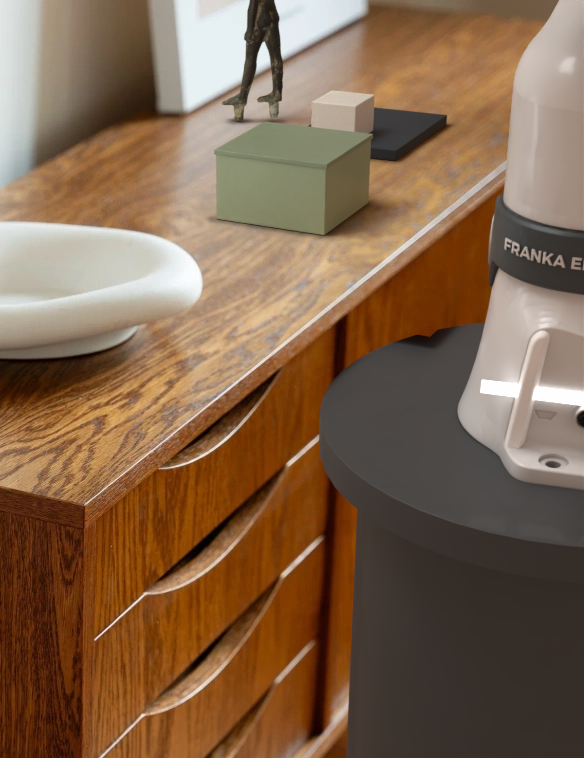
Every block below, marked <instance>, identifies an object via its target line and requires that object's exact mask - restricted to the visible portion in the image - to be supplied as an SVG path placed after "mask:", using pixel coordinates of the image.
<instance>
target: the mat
mask: <svg viewBox="0 0 584 758" xmlns="http://www.w3.org/2000/svg"><path fill="white" fill-rule="evenodd" d="M447 122H448V115H447V114H442V113H441V114H440V113H432V112H421V111H413V110H404V109H396V108H395V109H393V108H384V107H375V106H374V122H373V131H372V132H370V133H369V134H373V139H371V153H370V159H378V160H385V161H391V162H392V161H394V162H396V161H398V160H399V159H401V157H403V156H405V155H406V154H407V153H409V152H410V151H412V150H413V149H415V148H416V147H417V146H419V145H421V144H422V143H423V142H424V141H426V140H427V139H429V138H430V137H432V136H433V135H434V134H435V133H437V132H438V131H440V130H441V129H443V128H444V127H446V126H447ZM307 126H308V127H311V123H310V124H308V125H307Z"/></svg>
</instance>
